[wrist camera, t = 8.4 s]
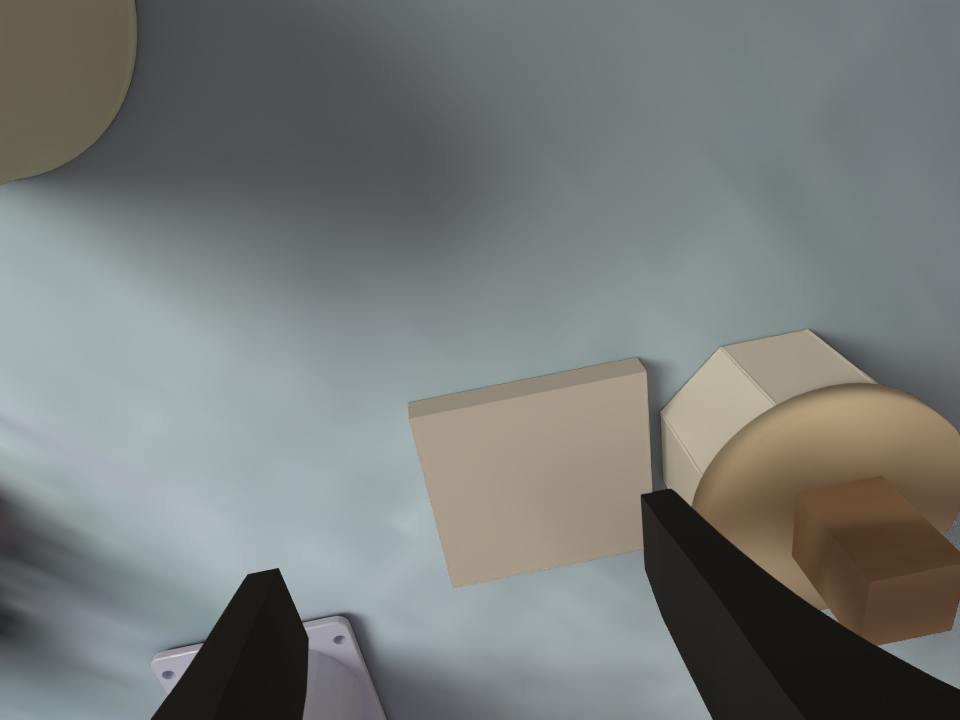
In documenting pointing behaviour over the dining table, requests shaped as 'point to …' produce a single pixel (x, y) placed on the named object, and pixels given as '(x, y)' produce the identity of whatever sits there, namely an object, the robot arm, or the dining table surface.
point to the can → (60, 78)
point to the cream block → (537, 470)
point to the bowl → (741, 397)
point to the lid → (847, 506)
